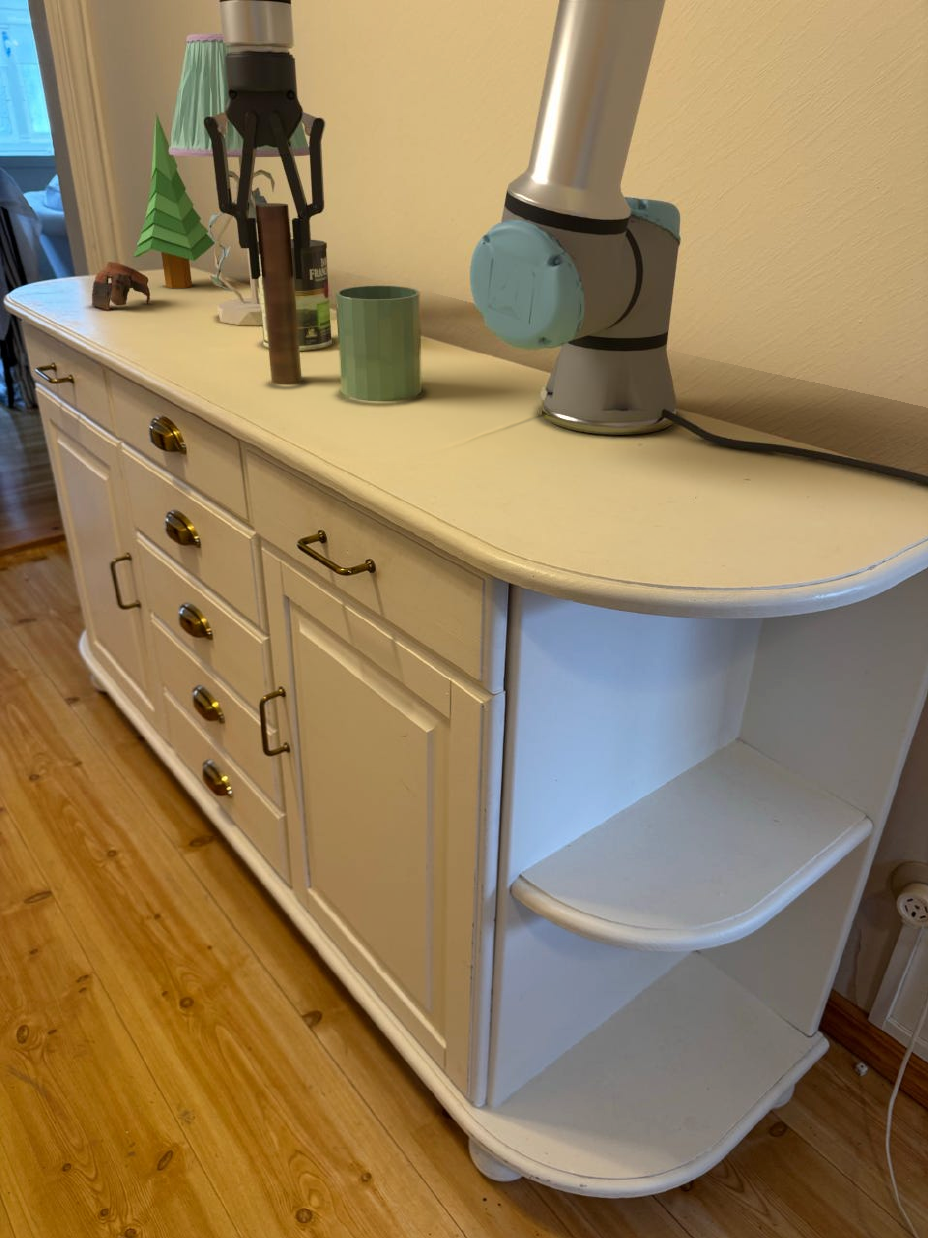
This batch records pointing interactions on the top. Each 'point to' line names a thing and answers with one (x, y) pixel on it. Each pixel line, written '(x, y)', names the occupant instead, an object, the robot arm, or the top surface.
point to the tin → (379, 342)
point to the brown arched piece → (117, 285)
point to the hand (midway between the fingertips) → (278, 276)
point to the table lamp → (196, 101)
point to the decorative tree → (171, 218)
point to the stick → (279, 292)
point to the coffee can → (308, 299)
